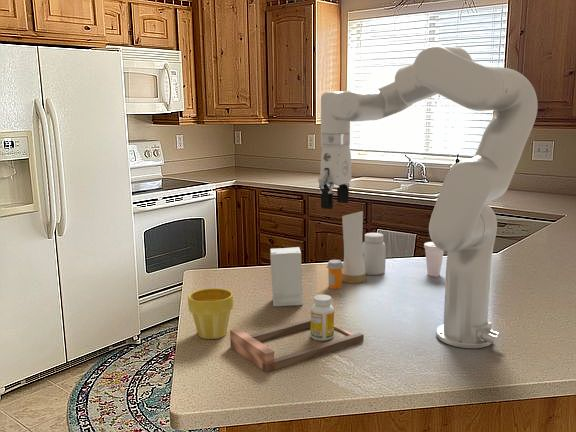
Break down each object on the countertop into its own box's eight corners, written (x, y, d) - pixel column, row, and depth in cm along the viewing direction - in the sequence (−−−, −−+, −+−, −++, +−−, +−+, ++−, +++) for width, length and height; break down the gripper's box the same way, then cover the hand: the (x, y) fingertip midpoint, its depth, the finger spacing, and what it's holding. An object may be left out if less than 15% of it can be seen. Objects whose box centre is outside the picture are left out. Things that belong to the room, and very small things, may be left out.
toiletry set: (370, 267, 187) (371, 205, 183) (390, 272, 182) (391, 208, 178) (320, 286, 169) (319, 217, 165) (340, 291, 164) (340, 221, 160)
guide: (363, 341, 131) (363, 324, 130) (266, 372, 116) (265, 353, 115) (323, 320, 143) (323, 305, 142) (230, 346, 128) (230, 330, 128)
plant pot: (204, 322, 142) (202, 285, 140) (241, 328, 138) (240, 290, 136) (181, 339, 133) (179, 298, 131) (220, 345, 129) (219, 304, 127)
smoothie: (446, 273, 180) (448, 229, 177) (440, 278, 174) (442, 233, 172) (427, 270, 183) (428, 227, 180) (420, 275, 178) (421, 231, 175)
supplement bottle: (312, 342, 130) (312, 301, 129) (309, 332, 136) (308, 293, 134) (335, 340, 131) (336, 300, 129) (331, 331, 136) (331, 292, 134)
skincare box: (301, 298, 159) (301, 246, 156) (303, 306, 153) (302, 252, 150) (271, 299, 158) (270, 247, 156) (271, 307, 153) (270, 253, 150)
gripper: (334, 143, 140) (333, 212, 143) (361, 138, 155) (361, 201, 158) (306, 142, 144) (307, 209, 147) (336, 138, 158) (336, 199, 162)
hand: (335, 205), depth 152 cm, fingers open, 9 cm apart
